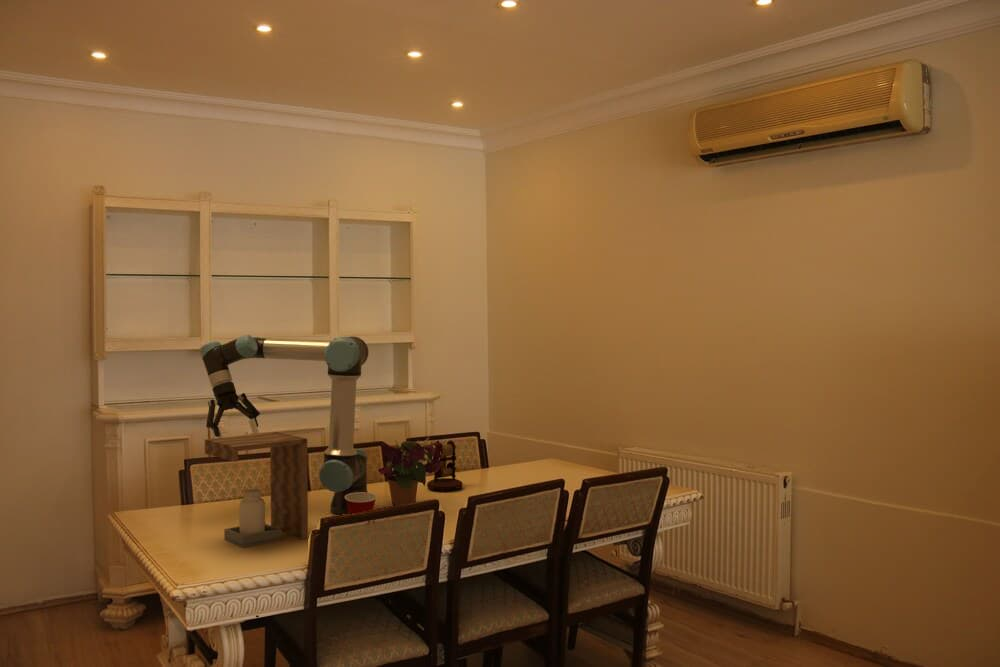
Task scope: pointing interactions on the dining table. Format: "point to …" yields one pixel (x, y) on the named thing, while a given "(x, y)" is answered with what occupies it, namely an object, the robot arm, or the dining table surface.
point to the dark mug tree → (446, 470)
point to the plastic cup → (360, 501)
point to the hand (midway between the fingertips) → (240, 440)
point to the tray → (252, 536)
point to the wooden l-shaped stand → (276, 475)
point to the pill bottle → (252, 512)
